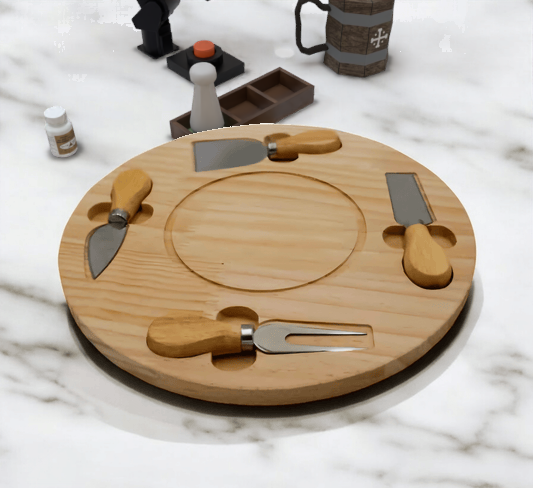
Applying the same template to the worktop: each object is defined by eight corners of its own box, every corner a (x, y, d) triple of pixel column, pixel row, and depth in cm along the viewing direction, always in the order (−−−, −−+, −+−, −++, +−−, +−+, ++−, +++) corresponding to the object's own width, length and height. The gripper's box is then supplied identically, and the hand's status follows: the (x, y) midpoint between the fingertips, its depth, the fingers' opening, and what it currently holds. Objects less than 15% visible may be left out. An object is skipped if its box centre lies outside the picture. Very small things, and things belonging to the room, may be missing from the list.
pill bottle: (65, 161, 108) (54, 122, 103) (46, 152, 110) (34, 114, 105) (83, 147, 111) (74, 109, 106) (64, 139, 113) (54, 101, 107)
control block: (167, 67, 130) (164, 49, 127) (206, 50, 134) (204, 32, 132) (205, 91, 123) (203, 72, 121) (244, 72, 128) (244, 54, 125)
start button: (189, 53, 126) (189, 44, 125) (205, 46, 128) (205, 38, 127) (202, 60, 124) (202, 52, 123) (219, 53, 126) (218, 45, 125)
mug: (379, 41, 137) (388, -31, 126) (397, 75, 127) (409, 0, 117) (287, 48, 135) (288, -24, 124) (298, 82, 125) (301, 8, 115)
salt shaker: (226, 142, 111) (222, 74, 102) (193, 146, 110) (186, 78, 101) (222, 122, 115) (218, 55, 106) (189, 126, 114) (182, 59, 105)
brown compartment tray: (171, 137, 113) (169, 120, 111) (279, 82, 126) (279, 66, 123) (204, 161, 108) (203, 144, 106) (313, 102, 121) (314, 85, 118)
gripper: (272, -85, 112) (272, 3, 123) (204, -111, 121) (209, -27, 132) (223, -69, 106) (227, 22, 118) (155, -97, 116) (165, -11, 127)
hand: (207, 0), depth 124 cm, fingers closed
